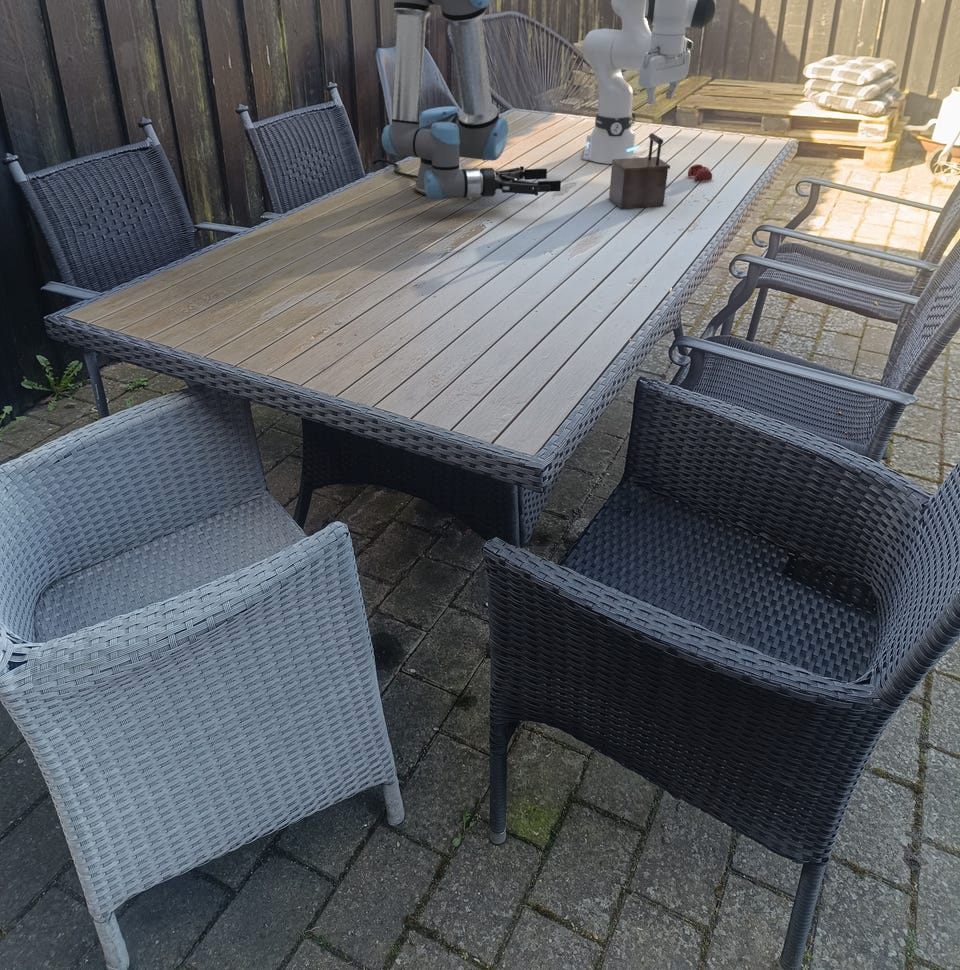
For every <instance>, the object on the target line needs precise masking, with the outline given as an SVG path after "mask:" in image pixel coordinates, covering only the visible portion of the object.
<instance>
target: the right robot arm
mask: <svg viewBox="0 0 960 970" xmlns="http://www.w3.org/2000/svg"><path fill="white" fill-rule="evenodd" d="M716 1H717V0H611V1H610V4H611V5H610V6H611V8H612V11H613V12H614V13H615V14H616V15H617V16H618V17H619V18H620V20H621V29H613V28H597V29H592V30H590V31H589V32H588V33H587V34H586V35H585V36H584V39H583V42H582V47H581V48H582V49H581V50H582V51H581V52H582V57H583V59H584V61H585V62H586V63H587V64H588V65H589V66H590V68H591V69H592V71H593V73H594V76H595V80H596V83H597V90H598V94H597V96H598V99H597V100H598V101H597V113H596V114H595V119H594V120H595V121H594V125H595V126H594V128H593V130H592V132H591V133H590V135H589V134H588V135H586V144H587V145H586V146H584V152H583V155H582V160H585V161H591V162H595V163H599V164H604V165H605V164H607V165H612V160H613V159H627V158H639V155H638V154H637V153H635V150H637V149H639V148H640V146H639V145H636V146H635V139H636V137H635V136H636V133H635V132H634V131H633V129H632V128H631V127H632V125H633V124H632V123H634V122H635V121H636V119H637V118H636V117H637V116H636V113H632V108H633V100H634V99H633V98H634V90H633V87H632V86H631V84H630V83H629V82H627V81H626V80H625V78H624V77H623V74H622V70H623V71H631V72H637V71H639V73H638V79H637V80H638V81H637V84H638V87H639V88H642V89H643V88H644V89H645V91H646V95H647V100H646V101H647V102H646V103H647V104H648V105H654V104H656V102H657V96H655V91H656V89H657V88H656V87H659V86H662V85H666V84H669V86H668V89H667V90H666V91H665V98H666V99H669V100H672V99H674V98H675V93H676V90H677V88H678V85H679V81H681V80H685V79H686V78H687V76H688V74H689V70H690V66H691V65H690V64H691V57H692V55H691V54H692V52H691V51H692V50H693V47H694V42H693V41H692V40H690V39H689V38H687V37H686V28H690V29H700V30H701V29H703V28H704V27H706V26H707V25H709V23H710V22H711V21H713V19H714V16H715V13H716V6H717V2H716ZM649 25H651V26H653V27H652V30H651V28H650V27H649Z"/></svg>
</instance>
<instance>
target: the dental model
mask: <svg viewBox="0 0 960 970" xmlns="http://www.w3.org/2000/svg"><path fill="white" fill-rule="evenodd" d="M687 177H688V178H691V177H694V178H693V180H694V182H705V181H706V182H707V181H712V179H713V173H712V172H711V170H710V168H709V167H707V166H703V164H698V163H697V164H693V165H691V166H690V167H689V169H688V171H687Z"/></svg>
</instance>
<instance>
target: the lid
mask: <svg viewBox="0 0 960 970" xmlns="http://www.w3.org/2000/svg"><path fill="white" fill-rule="evenodd" d="M648 139H649V149H648V156H646V157H645V156H643V157H638V158H627V159H613V160H612V162H613V163H614V164H615V165H617V166H618V167H619V168H621V169H622V170H623V171H624V172H626V171H641V170H657V169H668V170H670V169H671V165H670V164H668V163H667V162H666V161H664V160H662V159H661V152H662V151H661V150H662V145H663V143H664V139H662V138H661V137H659V136H658V135H656V134H655V133H652V132H651V133H649V135H648ZM654 143H656V144H657V151H656V156H653V146H654Z"/></svg>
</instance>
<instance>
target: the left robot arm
mask: <svg viewBox="0 0 960 970" xmlns="http://www.w3.org/2000/svg"><path fill="white" fill-rule="evenodd" d="M491 1H492V0H393V11H394V12H395V15H396V17H397V19H396V37H395V38H396V39H395V54H394V55H395V57H394V75H393V77H394V79H393V95H392V96H393V97H392V113H391V114H392V116H391V124H387V125H385V126H384V128H383V131H382V134H381V145H382V148H383V150H384V152H386V153H387V154H389V155H390V154H391V155H396V156H399V157H409V158H410V157H412V158H418V159H420V161H419V162H420V164H419V168H418V172H417V175H416V174H412V173H406V172H402V171H399V169H400V165H399V164H397V163H396V162H394V161H392V160H389V159H386V158H377V159H374V160H373V161H372V165H376V164H377V163H379V162H383V163H387V164H389V165H392V166H394V167H395V168H394V170H393V171H394V173H395V174H396V175H398V176H401V177H406V178H411V179H416V180H415V192H417V193H418V194H420V195H424V196H426V197H427V198H428V199H432V200H448V199H460V198H467V199H468V200H472V198H479V197H482V198H488V197H489V198H490V197H494V196H495V195H496V192H497V190H500V191H501V193H503V194H521V195H522V194H523V195H534V196H535V197H536V196H537V197H538V196H539V193H551V192H553V193H554V192H561V188H562V187H561V186H562V181H561V180H559V179H558V180H546V179H547V176H548V168H546V167H545V168H525V166H522V165H521V166H519V167H515V168H513V167H512V168H508V169H504V170H503V169H502V170H498V171H497V170H496V171H495V169H494V168H493V167H484V168H483V167H482V168H477V167H475V168H461V165H460V158H466V159H474V160H482V162H483V161H484V162H485V161H491V162H493V161H496V160H498V159H499V158H500V157H501V156H502V154H503V152H504V150H505V148H506V145H507V142H508V136H509V125H508V124H509V123H508V121H507V119H506V118H503V117H500V115H499V109H498V107H497V106H496V105H495V104H494V103H493V101H492V100H493V99H492V93H491V84H490V83H491V82H490V75H489V68H488V67H489V66H488V59H487V58H488V57H487V51H486V41H485V33H484V32H485V31H484V24H483V16H484V15H485V13H486V12H487V8H488V6H489V4H491ZM432 5H436V6H440V8H441V16H442V18H443V19H444V20H446V21H447V22H448V23H449V30H450V36H451V43H452V44H451V45H452V50H453V57H454V63H455V71H456V77H457V84H458V85H457V86H458V92H459V98H460V104H461V108H460V110H459V108H458V107H457V106H451V105H450V106H439V107H434V108H433V107H432V108H429V109H426V110H423V111H422V112H421V101H422V89H423V73H424V72H423V71H424V58H425V57H424V56H425V44H426V29H427V20H428V18H429V17H430V16H431V12H432ZM523 179H524V180H523ZM527 180H540V181H537V182H535V181H527Z"/></svg>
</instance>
